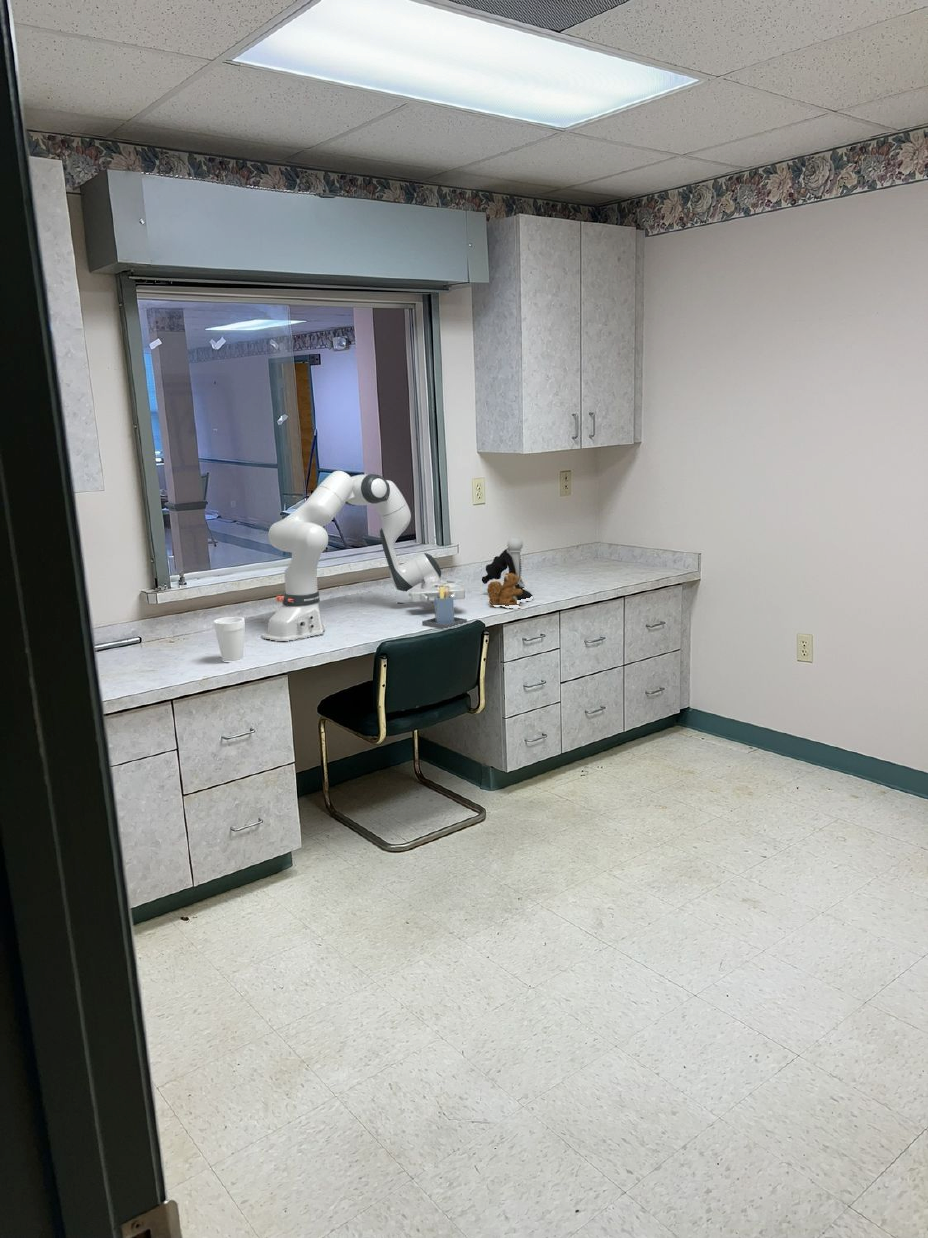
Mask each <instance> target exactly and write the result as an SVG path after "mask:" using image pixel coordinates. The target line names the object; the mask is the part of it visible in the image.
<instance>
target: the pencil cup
mask: <svg viewBox="0 0 928 1238" xmlns="http://www.w3.org/2000/svg"><path fill="white" fill-rule="evenodd" d="M433 604H434V618H435V623H439V624H444V625H446V624H450V623H453V622H454V617H455V609H454V604H455V603H454V600H453V597H452V596H451V595H449V598H445V595H444V598H439V596H434V603H433Z"/></svg>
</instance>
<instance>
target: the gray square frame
mask: <svg viewBox="0 0 928 1238" xmlns="http://www.w3.org/2000/svg"><path fill="white" fill-rule="evenodd" d="M466 622H467V623H468V619H466V618H462V617H456V616H454V622H453V623H450V624H446V625H444V624H439V623H435V617H433V618H429V619H425V620H422V624H421V625H422V626H423V627H428V628H433V629H434V628H435V629H441V630H444V629H443V628H448V627H452V626H455V625H458V624H463V623H466Z"/></svg>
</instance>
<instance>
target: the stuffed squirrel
mask: <svg viewBox="0 0 928 1238" xmlns="http://www.w3.org/2000/svg"><path fill="white" fill-rule="evenodd" d="M517 584H519V577H518V576H517V575H515V574H513V573H509V572H506V573H505V575H504V577H503V583H501V581H497V580H495V581H491V582H490V581H489V584H488V585H487V589H486V590H487V593H488V596H487V597H488V598H489V599H488V600H489V601H488V603H489V604H490V606H491V605H505V606H509V605H520V604H517V597H516V595H521V594H522V593H523V591H522V590H521V589H517V588H515V585H517Z"/></svg>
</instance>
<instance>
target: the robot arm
mask: <svg viewBox="0 0 928 1238" xmlns="http://www.w3.org/2000/svg"><path fill="white" fill-rule="evenodd" d="M345 504H346V505H349V506H352V507H353V506H354V507H355V506H368V505H374V506H375V508H376V510H377V513H378V515H379V516H380V519H381V528H380V529H379V538H380V542H381V546H382V549H383V552H384V555H385V559H386V563H387V565H388V568H389V572H390V579H391V582H392V585H393V586H394V588H395V589H396V590H397V591H401V592H408V591H410V590H411V589H412V590H411V591H410V592H408V596H409V597H410V600H411V602H412V603H421V602H423V603H424V602H428V603H431V604H434V596H439V586H443V587H444V595H445V586H449V595H451V596H452V597H453V601H454V600H464V599H465V598H466V590H465V588H464V586H462V585H460V584H459V583H458V582H457V581H450V580H449V581H447V580H443V579H441V577H442V570H441V568H440V565H439V564H438V562H437V561H436V560H435V559H436V558H434V557H433V556H432V555H431V554H430V553H427V552H423V553H421V554H419V555H417V556H415V557H413V558H412V559H410V560H407V561H405V562H404V563H401V564H400V562H399V560H398V557H397V554H396V550H395V544H396V541H397V539H398V538H399V537H400V536H401V534H402V533H403V532H404V531H406V529H407V528H408V526H409V525H410V522H411V520H412V514H411V513H412V512H411V510H410V507H409V505H408V503H407V501H406V499H405V497H404V496H403V493H402V492H401V491H400V489H399V488H398V486H397V485H396V484H395V482H393V481H392V480H390V479H389V480H388V479H385V478H384V477H383V476H381V475H379V474H376V473H369V474H357V475H353V476H351V475H350V474H348V473H347V472H345V471H342V470H335V471H333V472H332V473H330V474H329V475H328V476H327V477H326V478H325V479H323V481H321V483H320V484H319V485H318V486H317V487H316V488H315V490H314V491H313V492H312V493H311V494H310V495H309V497H307V499H306V500H305V501H304V502H303V503H302V504H301V505H300V506H298V508H296V510H293V512H291V513H290V514H289V515H288V516H286V517H285V518H282V519H281V520H278V521H276V522H275V523H273V524H272V525H271V526H269V527H270V528H269V530H268V533H267V534H268V535H267V536H268V541H269V544H270V545H271V546H272V547H274V548H275V549H277V550H279V551H281V552H286V553H291V560H290V563H289V565H288V566H287V567H286V568H285V570H284V587H285V593H284V596H283V595H282V596H281V595H277V596H276V600H277V602H280V603H282V604H281V606H280V607H279V608H278V609H277V611H275V613H273V615H272V616H271V617H270V618H269V620H268V621H267V622H268V624H267V631H266V632H264V633H262V634H261V638H262V639H264V638H267V639H270V640H269V641H271V640H275V641H274V642H277V641H288V642H290V641H289V640H293V639H298V638H304V639H308V638H307V637H309V638H311V637H310V636H314V635H319V634H323V635H324V633H325V631H326V627H325V625H324V622H323V619H322V614H321V609H320V599H321V598H320V592H319V591H320V590H319V589H318V565H319V561H320V557H321V555H322V553H323V552H324V551H325V550H326V548H327V546H328V544H329V534H328V532H327V530H326V529H325V526H327V525H329V524H330V523H331V522H332V520H333V519H334V518H335V517H336V516H337V514H338V513H339V512H340V511H341V509H342V508H343V506H344V505H345ZM419 584H420V588H415V589H413V588H414V587H416V586H417V585H419ZM324 630H325V631H324ZM323 631H324V632H323ZM319 636H320V635H319ZM314 637H315V636H314ZM298 640H299V639H298ZM293 641H294V640H293Z"/></svg>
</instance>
